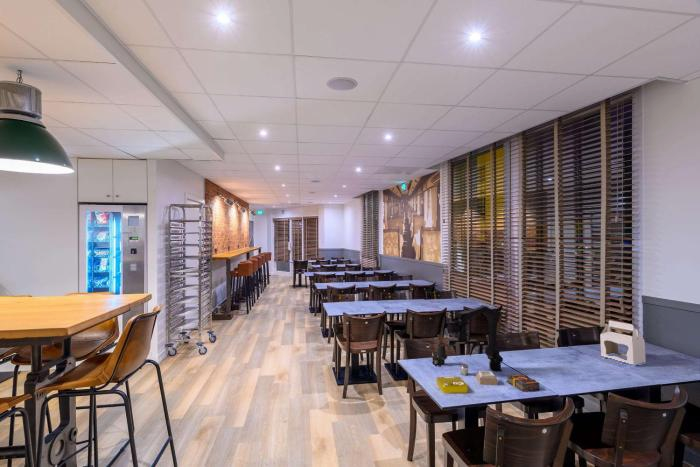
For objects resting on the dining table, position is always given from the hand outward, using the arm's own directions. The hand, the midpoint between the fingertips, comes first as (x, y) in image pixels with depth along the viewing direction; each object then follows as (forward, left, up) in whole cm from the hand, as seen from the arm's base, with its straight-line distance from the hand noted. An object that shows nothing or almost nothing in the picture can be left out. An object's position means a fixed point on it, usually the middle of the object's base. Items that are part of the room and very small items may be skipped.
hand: (463, 355), depth 221 cm
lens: (0, +1, -12) cm, 12 cm away
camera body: (-11, +13, -12) cm, 21 cm away
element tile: (+12, +24, -13) cm, 29 cm away
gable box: (-120, -39, -12) cm, 127 cm away
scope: (+13, -17, -12) cm, 25 cm away
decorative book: (-31, +17, -13) cm, 37 cm away
